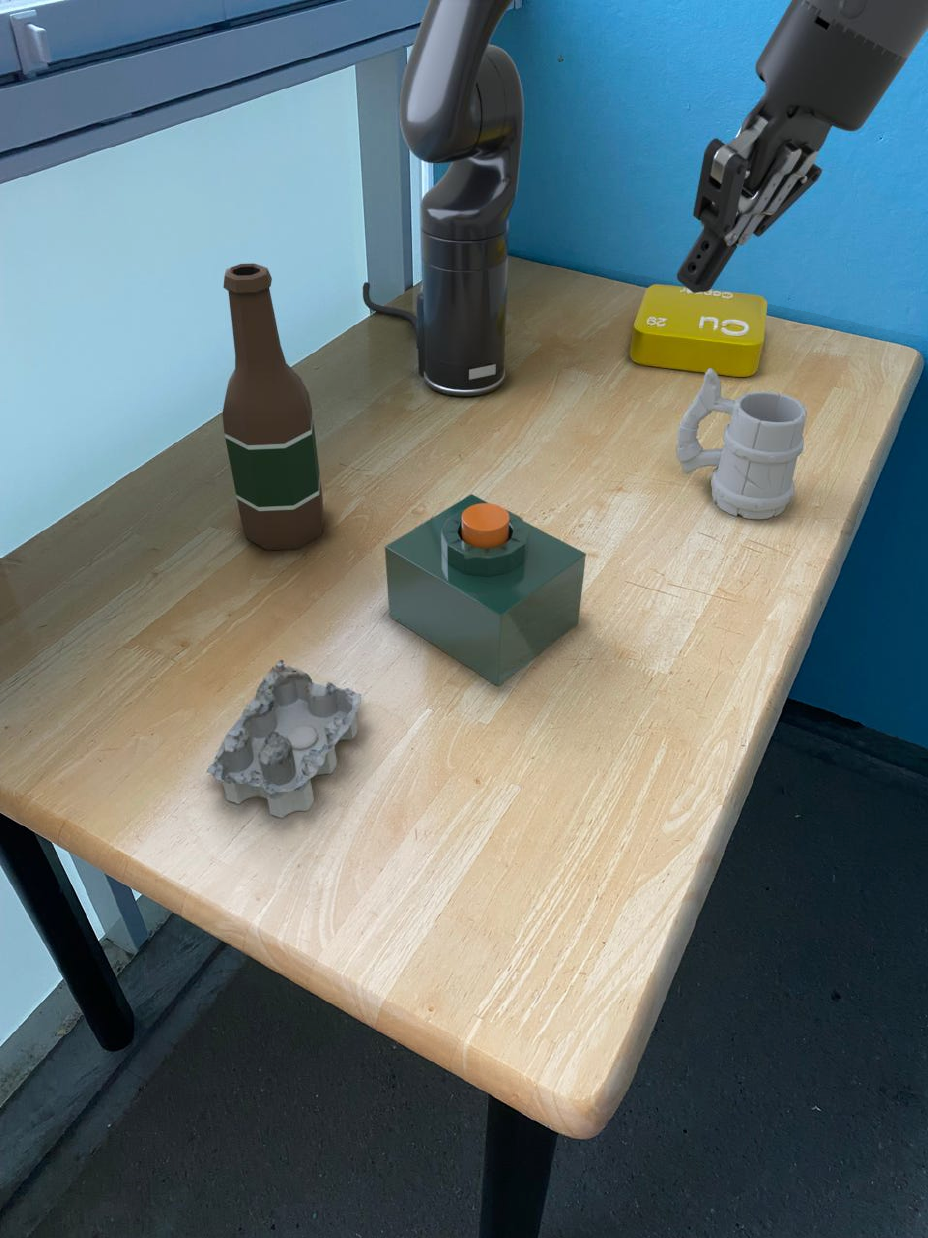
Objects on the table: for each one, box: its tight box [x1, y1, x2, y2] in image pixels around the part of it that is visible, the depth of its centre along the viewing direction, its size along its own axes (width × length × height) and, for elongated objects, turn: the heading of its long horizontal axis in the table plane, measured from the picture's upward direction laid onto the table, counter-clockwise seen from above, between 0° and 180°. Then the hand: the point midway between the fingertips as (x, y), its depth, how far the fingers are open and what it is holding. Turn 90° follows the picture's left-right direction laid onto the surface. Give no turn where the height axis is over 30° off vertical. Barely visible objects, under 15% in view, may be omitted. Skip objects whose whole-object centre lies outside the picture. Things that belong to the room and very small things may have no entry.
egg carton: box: [205, 659, 362, 819], centre depth 64 cm, size 11×8×4 cm
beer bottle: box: [221, 263, 324, 551], centre depth 78 cm, size 8×8×24 cm
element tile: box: [629, 283, 768, 378], centre depth 113 cm, size 15×15×5 cm
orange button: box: [462, 502, 510, 548], centre depth 70 cm, size 4×4×2 cm
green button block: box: [384, 493, 587, 687], centre depth 74 cm, size 12×10×9 cm
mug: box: [675, 368, 808, 520], centre depth 87 cm, size 8×12×12 cm, turn 62°
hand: (690, 285), depth 65 cm, fingers closed
